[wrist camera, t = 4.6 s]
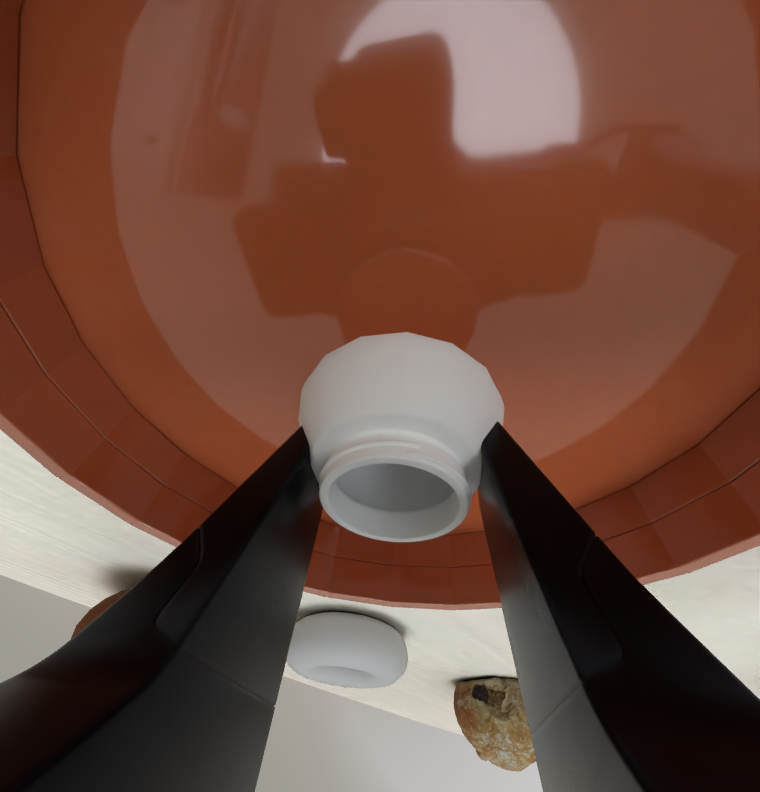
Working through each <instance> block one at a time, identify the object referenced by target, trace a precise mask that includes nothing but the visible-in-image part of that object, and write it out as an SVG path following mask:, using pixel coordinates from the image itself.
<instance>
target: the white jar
mask: <svg viewBox="0 0 760 792" xmlns="http://www.w3.org/2000/svg"><path fill="white" fill-rule="evenodd" d="M298 420H299V424H300V427H301V426H302V427H303V429H304V432H305V434H306V437H307V440H308V442H309V447H310V462H311V467H312V469H313V472H314V474H315V476H316V478H317V481H318V483H319V489H320V490H319V498H320V502H321V504H322V506H323V508H324V510H325V511H326V513H327V514H328V515H329V516H330V517H331V518H332V519H333V520H334V521H335V522H337V523H338V524H339V525H341V526H342V527H344V528H346V529H348V530H350V531H352V532H354V533H357V534H359V535H362V536H365V537H368V538H372V539H377V540H382V541H389V542H417V541H424V540H429V539H433V538H436V537H439V536H442V535H444V534H446V533H448V532H450V531H452V530H453V529H455V528H456V527H457V526H459V525H460V524H461V523H462V521H463V520H464V519H465V517H466V515H467V513H468V511H469V508H470V506H471V502H472V496H473V494H474V493H475V492H476V490H477V489H478V487H479V486H480V480H481V466H482V450H481V445H482V442H483V440H484V438H485V437H486V435H487V434H488V433H489V431H490V430H491V429H492V427H493V426H494V425H495V423H496V422H497V421H498V422H499V423H500V424H501V425H502V426H503V420H504V404H503V401H502V397H501V395H500V394H499V392H498V390H497V388H496V386H495V384H494V382H493V380H492V378H491V376H490V374H489V372H488V370H487V369H486V367H485V366H483V365H482V364H480V363H479V362H478V361H476V360H475V359H473V358H472V357H471V356H469V355H468V354H466V353H465V352H464V351H462V350H461V349H460V348H458V347H457V346H455V345H454V344H453V343H449V342H445V341H441V340H437V339H433V338H429V337H425V336H421V335H417V334H413V333H409V332H401V333H391V334H382V335H372V336H362V337H359V338H357V339H355V340H353V341H351V342H349V343H348V344H346V345H344V346H342V347H340V348H338V349H336V350H334V351H332V352H330V353H328V354H326V355H325V356H324V357H323V358H322V360H321V361H320V363H319V364H318V365H317V367H316V368H315V369H314V371H313V372H312V373H311V375H310V376H309V377H308V379H307V380H306V381H305V383H304V386H303V388H302V390H301V399H300V409H299V418H298Z"/></svg>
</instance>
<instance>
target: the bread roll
mask: <svg viewBox="0 0 760 792" xmlns="http://www.w3.org/2000/svg"><path fill="white" fill-rule="evenodd" d="M454 709H455V714H456V717H457V721H458V724H459V725H460V727H461V729H462V732H463V734H464V735H465V737H466V738H467V740H468V741H469V742H470V743H471V744H472V745H473V747H474V748H475V749H476V752H477V754H478V756H479V757H480V758H481V759H482V760H485V761H490V762H491V763H492V764H494V765H496V766H499V767H501V768H503V769H506V770H511V771H522V770H523V769H525V768H526V767H528V766H529V765H530V764H532V763H534V762H535V761H536V757H535V752H534V748H533V743H532V739H531V734H532V733H531V732H530V730H529V725H528V721H527V716H526V712H525V707H524V703H523V699H522V694H521V690H520V685H519V681H518V680H517V679H508V678H506V679H501V678H498V677H493V678H491V679H480V680H472V681H461V682H458V684H457V686H456V689H455V692H454Z"/></svg>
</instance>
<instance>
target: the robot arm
mask: <svg viewBox="0 0 760 792" xmlns="http://www.w3.org/2000/svg"><path fill="white" fill-rule="evenodd" d="M481 450H482V466H481V480H480V486H479V487H478V498H479V505H480V511H481V516H482V521H483V525H484V529H485V534H486V538H487V543H488V547H489V552H490V556H491V561H492V565H493V570H494V574H495V578H496V583H497V587H498V592H499V596H500V601H501V605H502V610H503V614H504V618H505V623H506V627H507V632H508V636H509V641H510V645H511V650H512V654H513V659H514V663H515V667H516V672H517V676H518V681H519V685H520V690H521V694H522V699H523V703H524V707H525V712H526V716H527V721H528V725H529V730H530V732H531V733H532V734H531V739H532V743H533V748H534V752H535V757H536V761H537V765H538V770H539V775H540V779H541V783H542V787H543V792H760V699H759V698H758V697H757V696H755V695H754V694H753V693H752V692H751V691H750V690H749V689H748V688H747V687H746V686H745V685H744V684H743V683H742V682H741V681H740V680H739V679H738V678H737V677H736V676H735V675H734V674H733V673H732V672H731V671H730V670H729V669H728V668H727V667H726V666H724V665H723V664H722V663H721V662H720V661H719V660H718V659H717V658H716V657H715V656H714V655H713V654H712V653H711V652H710V651H709V650H708V649H707V648H706V647H705V646H704V645H703V644H702V643H701V642H700V641H699V640H698V639H697V638H696V637H695V636H694V635H693V634H691V633H690V632H689V631H688V630H687V629H686V628H685V627H684V626H683V625H682V624H681V623H680V622H679V621H678V620H677V619H676V618H675V617H674V616H673V615H672V614H671V613H670V612H669V611H668V610H667V609H666V608H665V607H664V606H663V605H662V604H661V603H660V602H659V601H658V600H657V599H656V598H655V597H654V596H653V595H652V594H651V593H650V592H649V591H648V590H647V589H646V588H645V587H644V586H643V585H642V584H641V583H640V582H639V581H638V580H637V579H636V578H635V577H634V576H633V575H632V573H631V572H630V571H629V570H628V569H627V568H626V567H625V566H624V565H623V564H622V562H621V561H620V560H619V559H618V558H617V557H616V556H615V555H614V554H613V553H612V551H611V550H610V549H609V548H608V547H607V546H606V544H605V543H604V542H603V541H602V540H601V539H600V537H598V536H595V532H594V531H593V530H592V528H591V527H590V526H589V525H588V524H587V523H586V522H585V520H584V519H583V518H582V517H581V516H580V515H579V514H578V512H577V511H576V510H575V509H574V508H573V507H572V506H571V504H570V503H569V502H568V501H567V500H566V499H565V497H564V496H563V495H562V494H561V493H560V492H559V491H558V489H557V488H556V487H555V486H554V485H553V484H552V483H551V481H550V480H549V479H548V478H547V477H546V476H545V474H544V473H543V472H542V471H541V470H540V469H539V468H538V466H537V465H536V464H535V463H534V462H533V461H532V460H531V458H530V457H529V456H528V455H527V454H526V453H525V452H524V450H523V449H522V448H521V447H520V446H519V445H518V443H517V442H516V441H515V440H514V439H513V438H512V437H511V435H510V434H509V433H508V432H507V431H506V430H505V429H504V427H503V426H502V425H501V424H500V423H499V422H498V421H497V422H496V423H495V425H494V426H493V427H492V429H491V430H490V431H489V433H488V434H487V435H486V437H485V438H484V440H483V442H482V445H481ZM319 490H320V489H319V483H318V481H317V478H316V476H315V474H314V472H313V469H312V467H311V462H310V447H309V442H308V440H307V437H306V434H305V432H304V429H303V427H302V426H301V427H300V428H299V429H298V430H297V431H295V432H294V433H293V434H292V435H291V436H290V437H289V438H288V439H287V440H286V441H285V442H284V443H283V444H282V445H281V446H280V447H279V448H278V449H277V450H276V451H275V452H274V453H273V454H272V455H271V456H270V457H269V458H268V459H267V460H266V461H265V462H264V463H263V464H262V465H261V466H260V467H259V468H258V469H257V470H256V471H255V472H254V473H253V474H252V475H251V476H250V477H248V478H247V479H246V480H245V481H244V482H243V483H242V484H241V485H240V486H239V487H238V488H237V489H236V490H235V491H234V492H233V493H232V494H231V495H230V496H229V497H228V498H227V499H226V500H225V501H224V502H223V503H222V504H221V505H220V506H219V507H218V508H217V509H216V510H215V511H214V512H213V513H212V514H211V515H210V516H209V517H208V518H207V519H206V520H205V521H204V522H203V523H202V524H201V525H200V528H196V529H195V530H194V531H193V532H192V533H191V534H190V535H189V536H188V537H187V538H186V539H185V540H184V541H183V542H182V543H181V544H180V545H179V546H178V547H177V548H176V549H174V550H173V551H172V552H171V553H170V554H169V555H168V556H167V557H166V558H165V559H164V560H163V561H162V562H161V563H159V564H158V565H157V566H156V567H155V568H154V569H153V570H152V571H150V572H149V573H148V574H147V575H146V576H145V577H144V578H142V579H141V580H140V581H139V582H138V583H137V584H136V585H134V586H133V587H132V588H131V589H130V590H129V591H127V592H126V593H125V594H124V595H123V596H122V597H120V598H119V599H118V600H117V601H116V602H115V603H113V604H112V605H111V606H110V607H109V608H107V609H106V610H105V611H104V612H103V613H102V614H100V615H99V616H98V617H97V618H96V619H95V620H93V621H92V622H91V623H90V624H89V625H88V626H86V627H85V628H84V629H83V630H82V631H80V632H79V633H78V634H77V635H76V636H75V637H73V638H72V639H71V640H70V641H68V642H67V643H66V644H65V645H64V646H62V647H61V648H60V649H58V650H57V651H55V652H54V653H53V654H51V655H50V656H49V657H47V658H45V659H44V660H42V661H41V662H39V663H38V664H36V665H34V666H33V667H31V668H30V669H27V670H26V671H24V672H22V673H20V674H18V675H16V676H14V677H12V678H10V679H8V680H6V681H4V682H2V683H0V792H255V788H256V784H257V780H258V776H259V771H260V767H261V763H262V759H263V755H264V750H265V747H266V742H267V738H268V734H269V730H270V726H271V722H272V718H273V714H274V709H275V707H274V705H275V704H276V701H277V696H278V692H279V688H280V684H281V680H282V676H283V672H284V668H285V663H286V659H287V655H288V651H289V647H290V643H291V639H292V635H293V631H294V626H295V622H296V618H297V614H298V610H299V606H300V602H301V598H302V593H303V589H304V585H305V581H306V577H307V573H308V569H309V565H310V560H311V556H312V552H313V548H314V544H315V540H316V536H317V532H318V528H319V523H320V519H321V515H322V511H323V506H322V504H321V502H320V498H319Z"/></svg>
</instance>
